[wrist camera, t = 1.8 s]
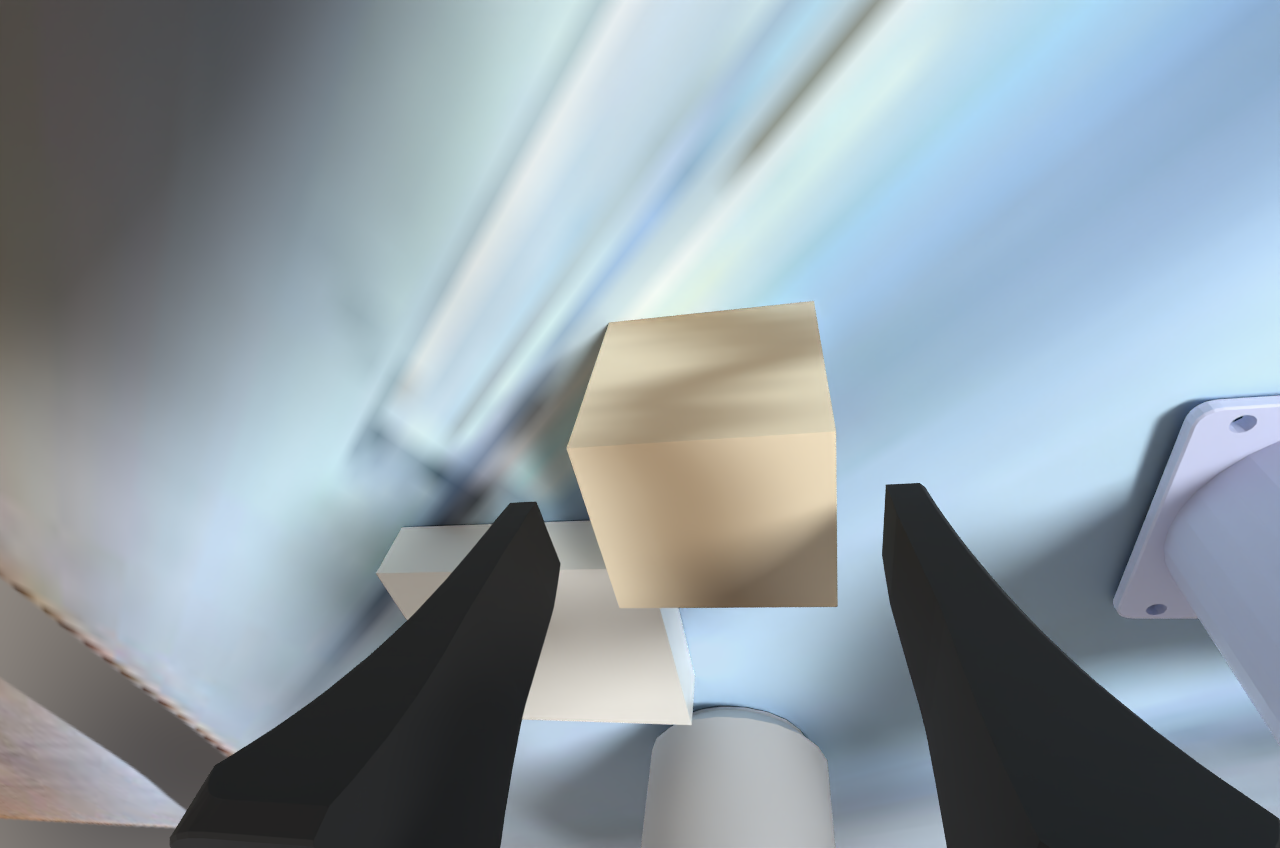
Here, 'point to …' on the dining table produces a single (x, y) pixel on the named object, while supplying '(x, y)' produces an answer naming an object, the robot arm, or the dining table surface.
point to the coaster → (569, 630)
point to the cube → (712, 460)
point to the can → (737, 785)
